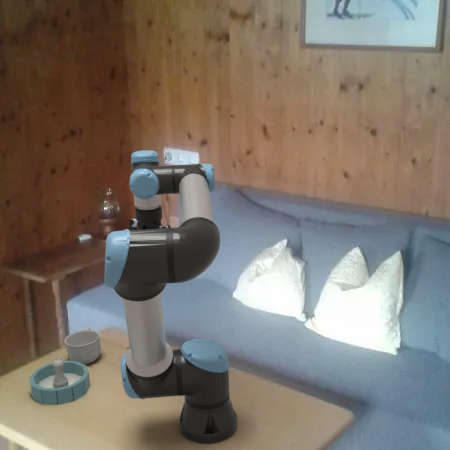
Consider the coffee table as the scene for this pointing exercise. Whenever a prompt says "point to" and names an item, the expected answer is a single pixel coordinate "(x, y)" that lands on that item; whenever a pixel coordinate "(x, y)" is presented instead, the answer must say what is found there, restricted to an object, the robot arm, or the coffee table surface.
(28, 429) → the coffee table surface
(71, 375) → the dish
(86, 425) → the coffee table surface
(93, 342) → the teacup
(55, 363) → the rook chess piece
